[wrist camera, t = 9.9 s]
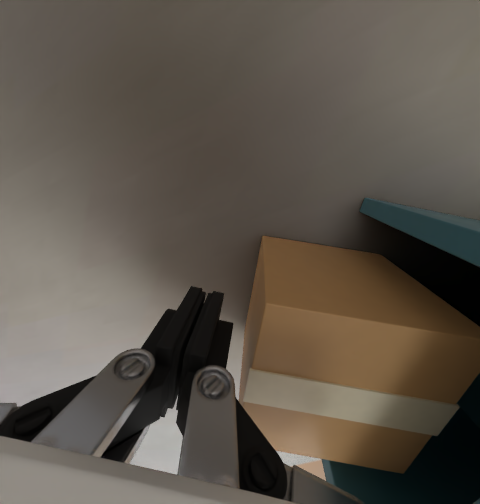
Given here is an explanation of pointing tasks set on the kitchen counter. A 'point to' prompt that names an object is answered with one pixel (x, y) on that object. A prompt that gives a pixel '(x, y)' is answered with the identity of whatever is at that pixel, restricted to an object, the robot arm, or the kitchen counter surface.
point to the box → (351, 356)
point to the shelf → (470, 404)
